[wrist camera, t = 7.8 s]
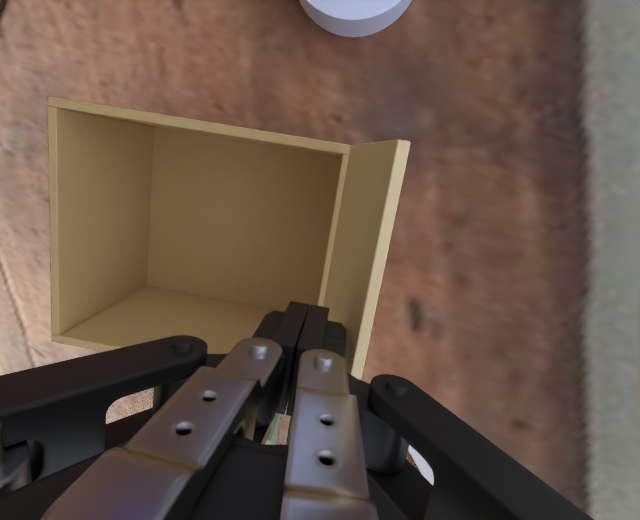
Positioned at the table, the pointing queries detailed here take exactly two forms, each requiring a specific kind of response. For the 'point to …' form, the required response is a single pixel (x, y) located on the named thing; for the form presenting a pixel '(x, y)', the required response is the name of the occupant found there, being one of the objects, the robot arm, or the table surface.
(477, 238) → the table surface
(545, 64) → the table surface
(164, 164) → the carton
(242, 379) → the robot arm
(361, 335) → the flap
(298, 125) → the table surface
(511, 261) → the table surface
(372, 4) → the wedge on round base
